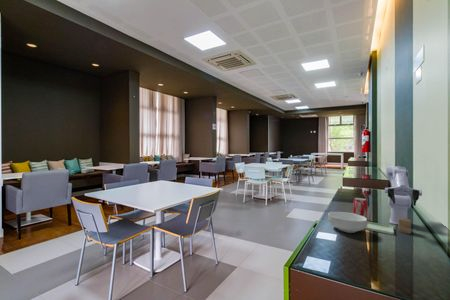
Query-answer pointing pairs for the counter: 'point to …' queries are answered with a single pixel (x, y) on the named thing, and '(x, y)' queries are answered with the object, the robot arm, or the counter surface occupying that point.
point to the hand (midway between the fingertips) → (404, 203)
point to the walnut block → (404, 225)
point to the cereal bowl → (347, 221)
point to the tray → (379, 228)
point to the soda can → (360, 207)
